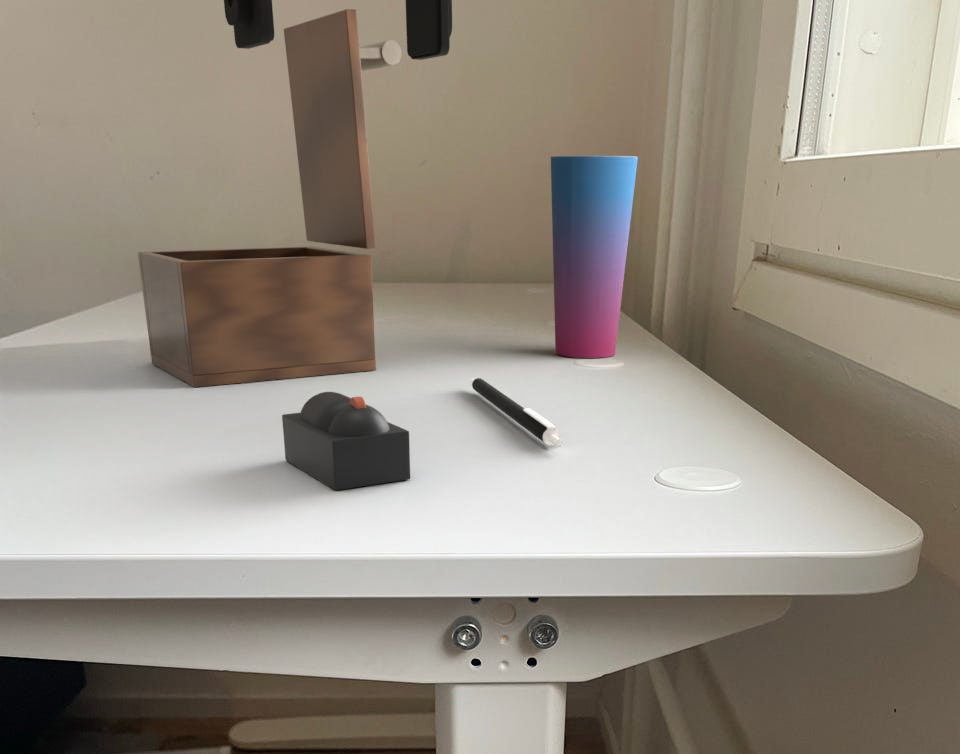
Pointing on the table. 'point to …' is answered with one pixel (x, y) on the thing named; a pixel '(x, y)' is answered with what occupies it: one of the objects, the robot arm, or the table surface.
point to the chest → (258, 313)
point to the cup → (590, 250)
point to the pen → (519, 413)
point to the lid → (334, 125)
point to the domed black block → (345, 442)
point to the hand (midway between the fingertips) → (345, 51)
